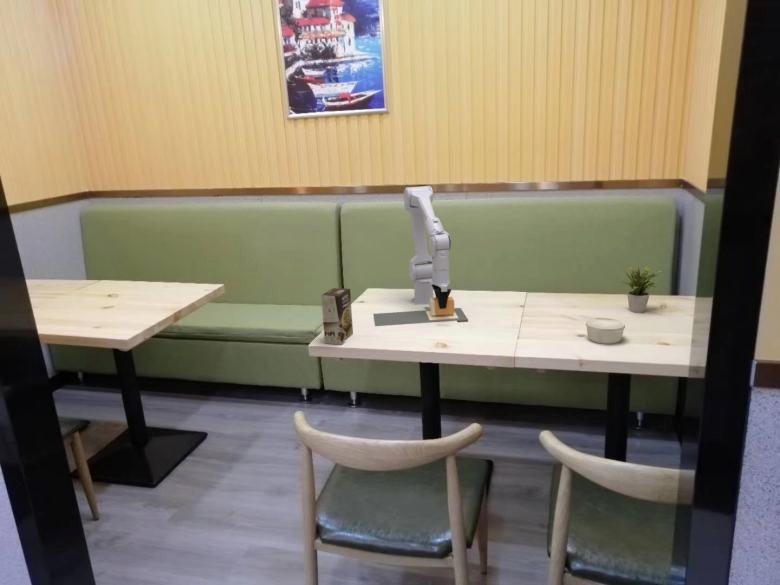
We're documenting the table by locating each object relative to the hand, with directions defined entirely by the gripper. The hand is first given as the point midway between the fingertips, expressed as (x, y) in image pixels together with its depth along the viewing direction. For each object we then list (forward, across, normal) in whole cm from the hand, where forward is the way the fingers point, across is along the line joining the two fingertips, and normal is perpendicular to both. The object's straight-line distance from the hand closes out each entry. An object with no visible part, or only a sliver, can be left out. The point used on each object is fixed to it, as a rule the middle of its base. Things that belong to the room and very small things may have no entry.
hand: (441, 306), depth 205 cm
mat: (+4, 0, -8) cm, 9 cm away
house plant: (+4, +9, +67) cm, 68 cm away
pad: (+4, 0, 0) cm, 4 cm away
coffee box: (+4, +16, -36) cm, 40 cm away
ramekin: (+4, +32, +45) cm, 55 cm away
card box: (+2, 0, 0) cm, 2 cm away
